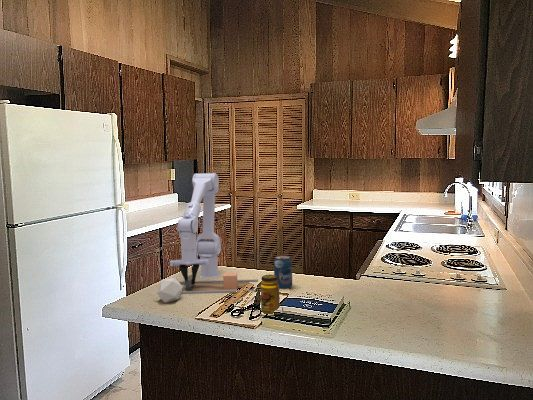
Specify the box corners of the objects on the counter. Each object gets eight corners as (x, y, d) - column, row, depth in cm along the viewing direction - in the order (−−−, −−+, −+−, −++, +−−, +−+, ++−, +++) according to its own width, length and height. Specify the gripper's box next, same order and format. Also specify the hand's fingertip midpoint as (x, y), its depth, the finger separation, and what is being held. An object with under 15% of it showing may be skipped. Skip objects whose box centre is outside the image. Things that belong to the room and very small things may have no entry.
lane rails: (168, 284, 180) (168, 281, 180) (257, 282, 180) (257, 279, 179) (160, 295, 165) (159, 292, 165) (257, 293, 165) (257, 290, 165)
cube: (224, 285, 175) (224, 272, 174) (237, 284, 175) (237, 272, 174) (223, 288, 170) (223, 276, 169) (236, 288, 170) (236, 275, 169)
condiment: (258, 316, 141) (257, 279, 140) (261, 307, 150) (260, 272, 149) (281, 316, 141) (280, 279, 140) (283, 307, 149) (282, 272, 148)
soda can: (281, 291, 166) (281, 260, 165) (270, 287, 172) (270, 256, 171) (296, 287, 170) (295, 257, 169) (284, 284, 176) (284, 254, 175)
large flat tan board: (189, 284, 178) (188, 273, 178) (249, 283, 178) (249, 272, 178) (183, 294, 166) (183, 282, 166) (248, 292, 166) (247, 280, 166)
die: (178, 297, 165) (161, 277, 164) (191, 289, 160) (174, 269, 159) (165, 311, 159) (147, 290, 158) (178, 303, 154) (160, 282, 153)
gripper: (167, 251, 167) (169, 287, 168) (206, 250, 167) (207, 286, 168) (171, 248, 174) (173, 282, 175) (208, 247, 174) (210, 281, 175)
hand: (190, 283), depth 172 cm, fingers closed on large flat tan board, 2 cm apart
